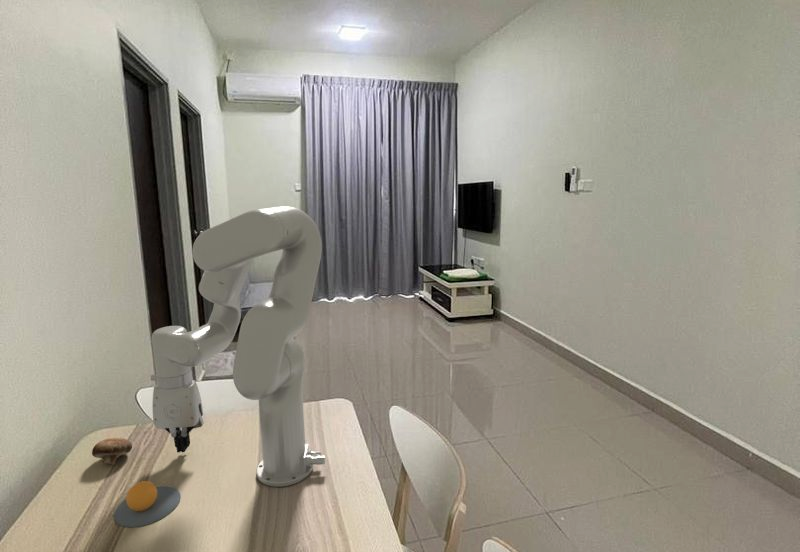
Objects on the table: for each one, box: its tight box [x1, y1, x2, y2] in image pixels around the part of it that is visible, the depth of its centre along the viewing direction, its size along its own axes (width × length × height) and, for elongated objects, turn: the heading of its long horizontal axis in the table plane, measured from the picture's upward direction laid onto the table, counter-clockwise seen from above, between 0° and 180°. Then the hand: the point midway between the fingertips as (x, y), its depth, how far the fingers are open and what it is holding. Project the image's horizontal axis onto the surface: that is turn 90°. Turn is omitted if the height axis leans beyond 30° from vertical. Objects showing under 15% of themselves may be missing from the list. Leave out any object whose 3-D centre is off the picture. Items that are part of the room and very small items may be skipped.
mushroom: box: [91, 437, 133, 466], centre depth 109 cm, size 8×8×6 cm
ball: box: [125, 480, 157, 511], centre depth 92 cm, size 6×6×6 cm
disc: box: [113, 485, 182, 528], centre depth 94 cm, size 12×12×1 cm
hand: (183, 449), depth 111 cm, fingers closed
